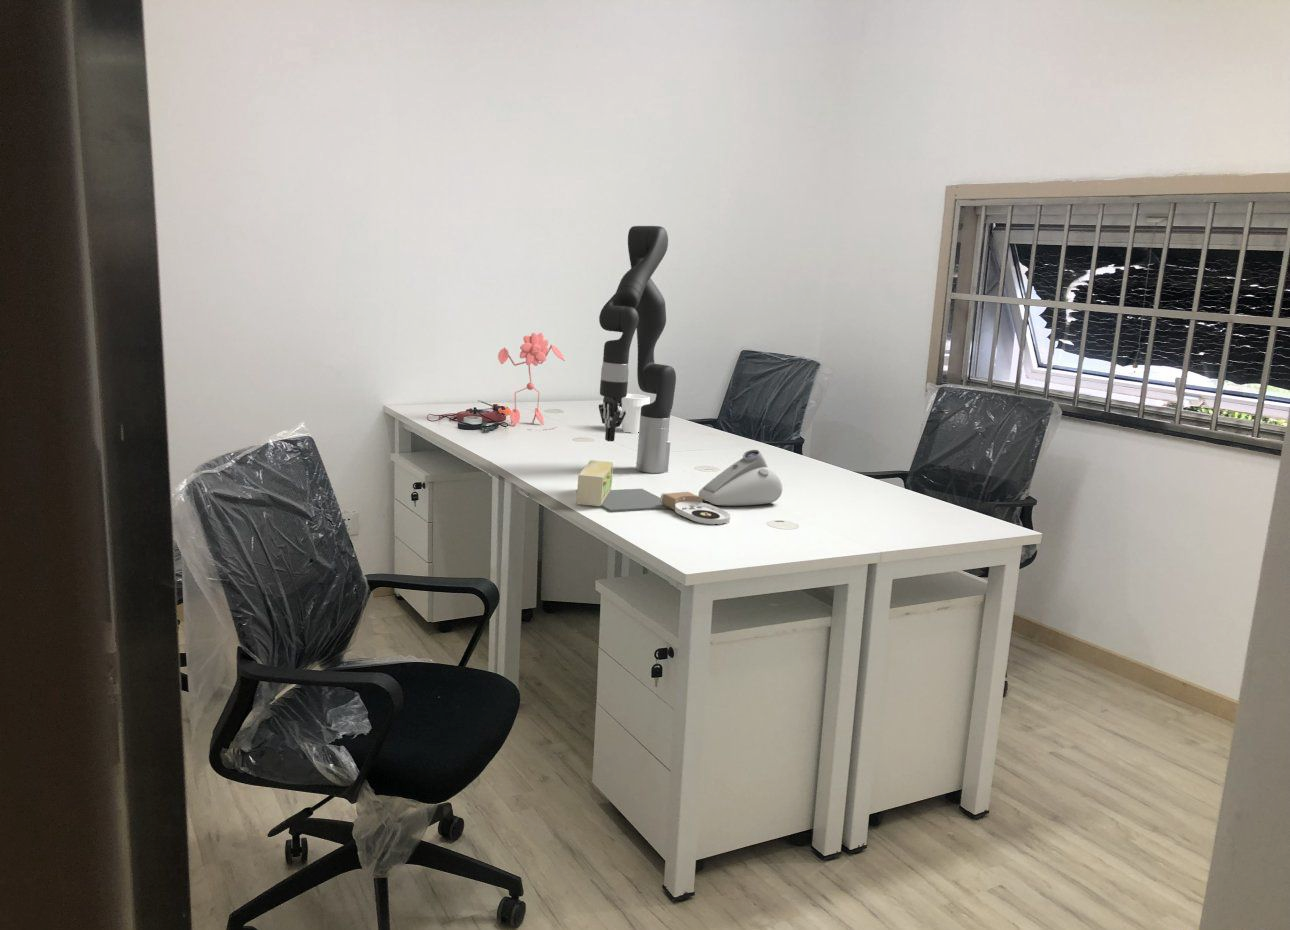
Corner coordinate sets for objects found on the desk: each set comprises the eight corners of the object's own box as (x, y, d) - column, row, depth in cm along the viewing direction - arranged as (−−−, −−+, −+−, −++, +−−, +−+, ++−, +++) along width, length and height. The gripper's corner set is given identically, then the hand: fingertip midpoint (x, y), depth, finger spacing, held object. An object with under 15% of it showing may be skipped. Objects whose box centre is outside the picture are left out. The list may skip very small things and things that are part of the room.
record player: (691, 490, 272) (740, 511, 257) (689, 501, 273) (738, 523, 258) (657, 493, 265) (705, 515, 250) (656, 504, 266) (704, 527, 251)
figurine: (489, 423, 370) (495, 329, 363) (550, 422, 385) (557, 331, 377) (508, 432, 358) (515, 334, 351) (570, 430, 373) (578, 336, 365)
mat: (641, 490, 284) (641, 488, 284) (676, 508, 267) (677, 506, 267) (577, 493, 274) (577, 491, 274) (610, 512, 257) (610, 509, 257)
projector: (702, 488, 294) (707, 439, 291) (780, 497, 291) (786, 447, 288) (696, 505, 272) (701, 453, 269) (780, 515, 269) (786, 462, 266)
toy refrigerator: (614, 490, 280) (603, 506, 260) (588, 487, 281) (575, 503, 260) (616, 462, 279) (605, 476, 258) (590, 459, 279) (577, 473, 259)
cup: (647, 435, 372) (650, 399, 370) (614, 433, 372) (617, 397, 370) (647, 430, 384) (650, 395, 382) (615, 427, 384) (618, 392, 382)
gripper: (637, 382, 271) (632, 445, 274) (616, 376, 282) (611, 436, 285) (612, 382, 267) (607, 445, 271) (591, 375, 278) (587, 436, 282)
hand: (609, 440), depth 278 cm, fingers closed
